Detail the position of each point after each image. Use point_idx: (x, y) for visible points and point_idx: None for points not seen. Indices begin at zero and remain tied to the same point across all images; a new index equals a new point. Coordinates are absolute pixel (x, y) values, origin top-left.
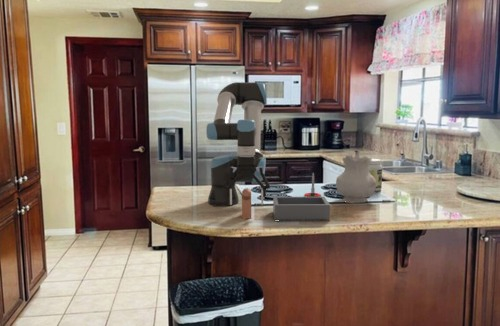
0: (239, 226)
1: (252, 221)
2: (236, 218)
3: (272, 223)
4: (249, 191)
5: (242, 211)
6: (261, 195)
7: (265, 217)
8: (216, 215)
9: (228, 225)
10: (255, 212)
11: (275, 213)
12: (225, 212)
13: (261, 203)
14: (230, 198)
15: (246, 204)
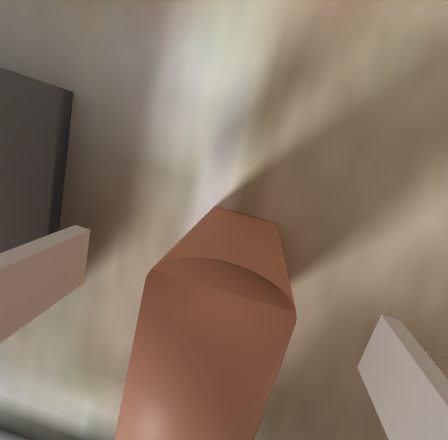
0: (353, 20)
1: (222, 133)
2: (314, 236)
3: (96, 47)
4: (140, 373)
5: (275, 236)
6: (5, 265)
7: (117, 203)
8: (434, 346)
9: (433, 70)
10: None
11: (21, 75)
12: (348, 389)
13: (80, 233)
14: (434, 369)
15: (235, 246)
